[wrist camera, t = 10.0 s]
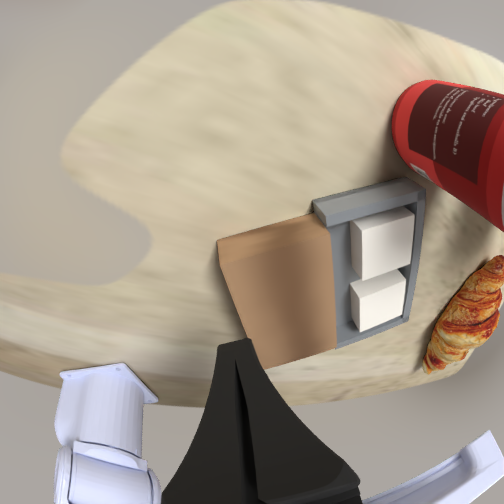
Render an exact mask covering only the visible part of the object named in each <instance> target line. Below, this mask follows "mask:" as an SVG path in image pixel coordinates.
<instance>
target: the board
mask: <svg viewBox="0 0 504 504" xmlns="http://www.w3.org/2000/svg"><path fill="white" fill-rule="evenodd" d="M217 245H218V254H219V262H220V267H221V270H222V272H223V275H224V278H225V280H226V283H227V286H228V288H229V291H230V294H231V296H232V299H233V301H234V304H235V307H236V309H237V312H238V314H239V317H240V319H241V322H242V325H243V327H244V330H245V332H246V335H247V337H248V338H250V339H251V340H252V342H253V345H254V348H255V351H256V354H257V356H258V359H259V362H260V364H261V366H262V368H263V369H268V368H272V367H275V366H279V365H283V364H286V363H289V362H293V361H296V360H300V359H303V358H306V357H309V356H312V355H316V354H319V353H322V352H325V351H328V350H331V349H334V348H336V347H337V334H336V308H335V289H334V274H333V261H332V249H331V238H330V233H329V231H328V230H327V229H326V228H325V226H324V225H323V224H322V222H321V221H320V220H319V218H318V217H317V216H316V215H315V213H311V214H308V215H304V216H300V217H297V218H293V219H289V220H286V221H282V222H279V223H275V224H272V225H268V226H264V227H261V228H257V229H254V230H250V231H247V232H243V233H240V234H236V235H233V236H229V237H226V238H222V239H219V240H217Z"/></svg>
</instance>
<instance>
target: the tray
mask: <svg viewBox="0 0 504 504" xmlns="http://www.w3.org/2000/svg"><path fill="white" fill-rule="evenodd" d="M425 200H426V189H425V188H423V187H422V186H420V185H419V184H417V183H416V182H414V181H412V180H411V179H409V178H408V177H404V178H399V179H395V180H391V181H387V182H382V183H378V184H374V185H370V186H366V187H362V188H358V189H354V190H350V191H346V192H342V193H338V194H334V195H330V196H326V197H322V198H318V199H314V200H312V202H313V208H314V213H315V215H316V216H317V217H318V218H319V220H320V221H321V222H322V224H323V225H324V226H325V228H326V229H327V230H328V231H329V233H330V238H331V249H332V261H333V274H334V289H335V308H336V334H337V347H336V348H335V349H338V348H341V347H344V346H346V345H349V344H352V343H355V342H357V341H360V340H363V339H365V338H368V337H370V336H373V335H376V334H378V333H381V332H383V331H386V330H388V329H390V328H393V327H395V326H398V325H400V324H402V323H405V322H407V321H408V319H409V315H410V310H411V305H412V301H413V295H414V290H415V285H416V279H417V273H418V266H419V260H420V252H421V244H422V236H423V226H424V214H425ZM400 206H404V207H406V208H407V209H408V210H409V211H411V212H412V213H413V214H414V215H415V218H414V231H413V242H412V252H411V261H410V264H408V265H406V266H403V267H400V268H397V269H398V270H399V272H400V273H401V274H402V275H403V276H404V278H405V279H406V286H405V295H404V303H403V310H402V315H400V316H398V317H395V318H393V319H391V320H389V321H386V322H384V323H382V324H379V325H377V326H374V327H372V328H370V329H367V330H365V331H362V332H359V330H358V328H357V326H356V324H355V322H354V321H353V319H352V313H351V294H350V283H352V282H354V281H357V280H360V277H359V276H358V274H357V273H356V271H355V270H354V269H353V267H352V262H351V237H350V220H354V219H357V218H361V217H364V216H368V215H371V214H375V213H378V212H382V211H386V210H389V209H393V208H396V207H400Z"/></svg>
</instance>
